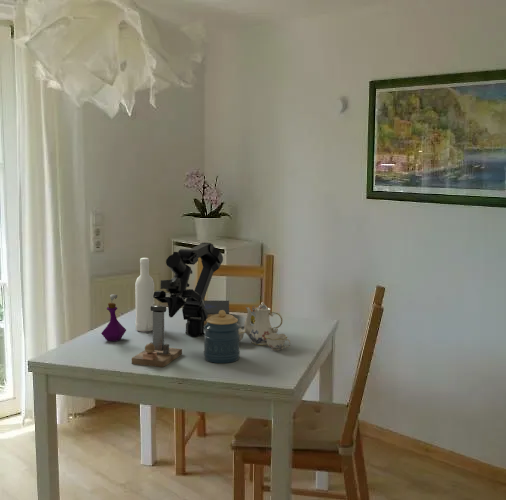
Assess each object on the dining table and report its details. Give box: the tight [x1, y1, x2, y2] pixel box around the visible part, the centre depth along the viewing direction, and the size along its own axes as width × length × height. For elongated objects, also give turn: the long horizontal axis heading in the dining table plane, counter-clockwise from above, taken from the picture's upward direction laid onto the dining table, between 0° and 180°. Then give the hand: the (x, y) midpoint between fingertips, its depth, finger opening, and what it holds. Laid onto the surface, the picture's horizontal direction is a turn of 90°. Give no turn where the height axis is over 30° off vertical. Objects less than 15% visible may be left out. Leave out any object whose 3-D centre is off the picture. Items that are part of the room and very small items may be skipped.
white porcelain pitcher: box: [240, 305, 257, 330], centre depth 276 cm, size 8×8×10 cm
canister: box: [203, 310, 241, 364], centre depth 236 cm, size 13×13×18 cm
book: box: [203, 300, 230, 325], centre depth 292 cm, size 17×25×7 cm
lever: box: [151, 305, 167, 351], centre depth 235 cm, size 2×5×16 cm, turn 73°
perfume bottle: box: [100, 293, 127, 342], centre depth 258 cm, size 8×8×18 cm
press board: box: [131, 341, 183, 368], centre depth 235 cm, size 16×12×7 cm
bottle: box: [134, 257, 155, 333], centre depth 273 cm, size 8×8×30 cm
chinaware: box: [239, 301, 291, 351], centre depth 255 cm, size 28×17×17 cm, turn 70°
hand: (170, 317), depth 246 cm, fingers closed
